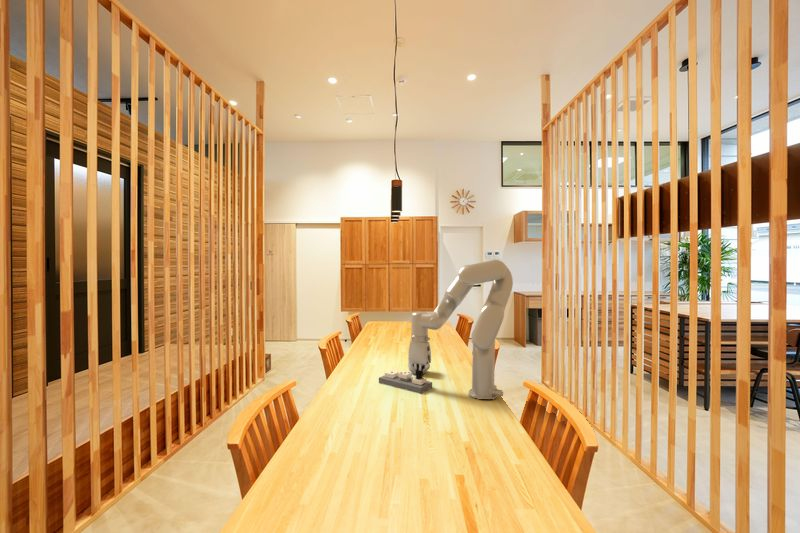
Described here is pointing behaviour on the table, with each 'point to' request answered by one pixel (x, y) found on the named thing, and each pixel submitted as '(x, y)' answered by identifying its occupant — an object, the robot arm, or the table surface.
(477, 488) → the table surface
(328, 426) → the table surface
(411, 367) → the teacup
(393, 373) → the button one
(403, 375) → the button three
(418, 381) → the button two
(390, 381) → the button panel
